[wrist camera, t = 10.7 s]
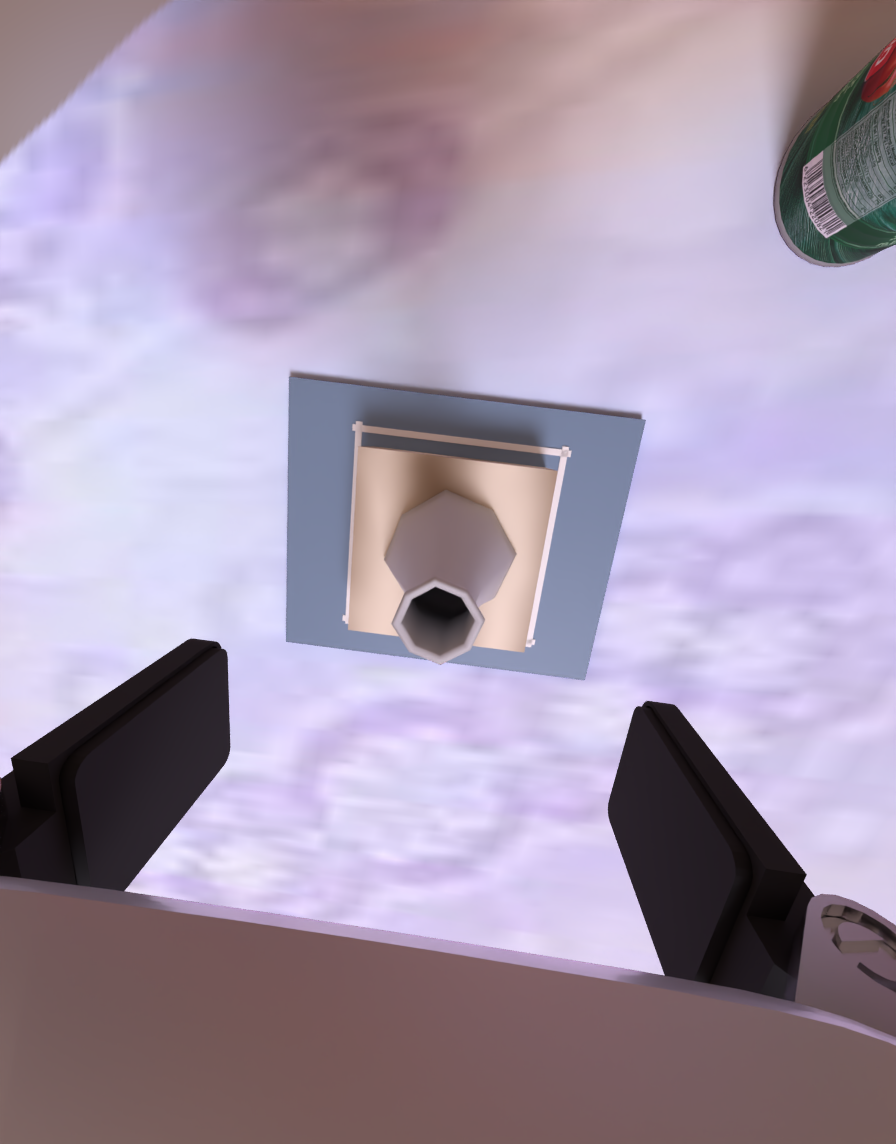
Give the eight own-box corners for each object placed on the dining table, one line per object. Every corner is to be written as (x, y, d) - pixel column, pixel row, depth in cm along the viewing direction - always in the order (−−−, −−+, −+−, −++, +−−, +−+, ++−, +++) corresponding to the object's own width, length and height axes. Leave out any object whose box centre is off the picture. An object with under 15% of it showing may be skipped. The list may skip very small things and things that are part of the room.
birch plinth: (545, 467, 27) (557, 471, 23) (517, 626, 30) (524, 652, 27) (373, 446, 27) (358, 446, 24) (363, 606, 31) (347, 629, 27)
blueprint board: (641, 420, 27) (646, 419, 26) (582, 676, 32) (585, 681, 31) (293, 378, 27) (288, 376, 26) (289, 638, 32) (285, 642, 32)
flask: (444, 465, 24) (428, 478, 14) (538, 552, 25) (582, 618, 15) (363, 559, 25) (298, 627, 16) (454, 636, 27) (445, 743, 17)
